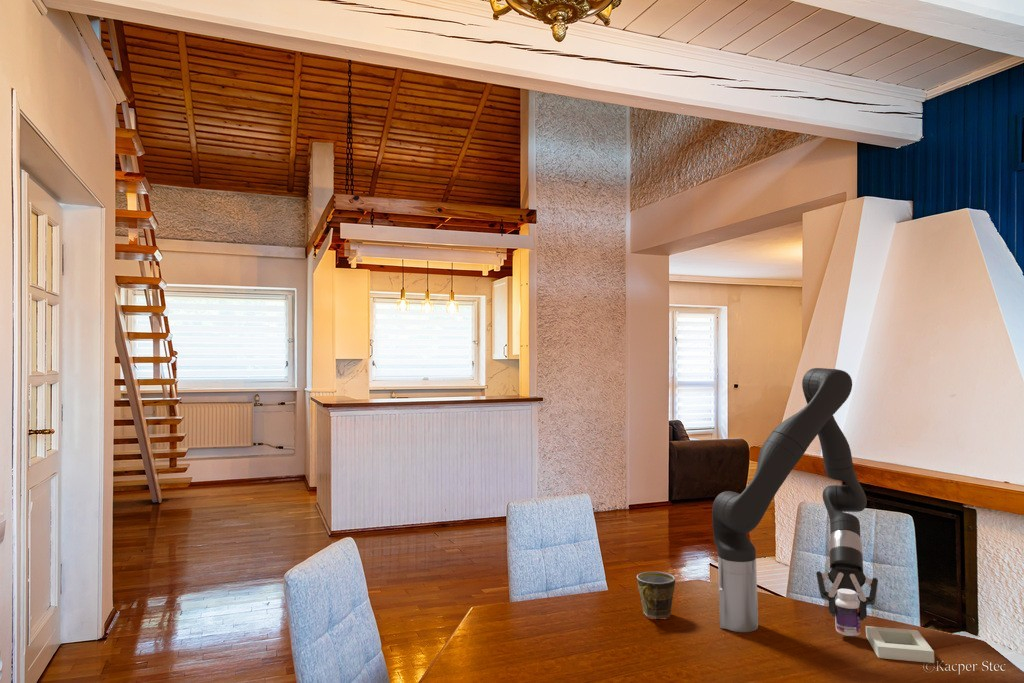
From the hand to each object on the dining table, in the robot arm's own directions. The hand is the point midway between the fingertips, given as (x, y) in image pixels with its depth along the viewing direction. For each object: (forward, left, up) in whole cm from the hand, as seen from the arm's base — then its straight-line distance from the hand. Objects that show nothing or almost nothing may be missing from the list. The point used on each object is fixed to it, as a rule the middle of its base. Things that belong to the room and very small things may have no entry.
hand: (847, 616), depth 158 cm
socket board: (+10, -2, -6) cm, 12 cm away
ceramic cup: (-46, +5, -6) cm, 46 cm away
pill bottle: (0, +2, -5) cm, 5 cm away
